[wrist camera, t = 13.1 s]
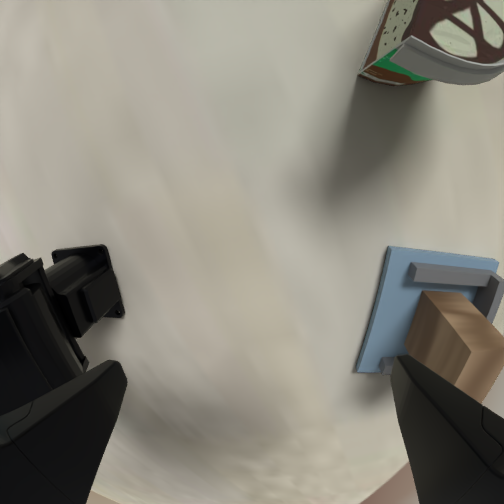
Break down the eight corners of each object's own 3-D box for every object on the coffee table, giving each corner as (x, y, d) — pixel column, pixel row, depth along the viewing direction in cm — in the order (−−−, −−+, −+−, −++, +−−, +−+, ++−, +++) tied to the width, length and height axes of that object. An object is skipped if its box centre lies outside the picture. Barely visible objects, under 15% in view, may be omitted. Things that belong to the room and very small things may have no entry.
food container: (425, 137, 17) (519, 137, 8) (349, 93, 17) (407, 46, 7) (462, 18, 13) (533, -22, 3) (397, -23, 13) (445, -89, 3)
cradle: (355, 366, 23) (362, 392, 20) (388, 245, 20) (404, 262, 17) (454, 363, 23) (467, 384, 20) (494, 259, 19) (515, 273, 16)
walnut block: (403, 344, 21) (437, 413, 14) (422, 290, 20) (471, 351, 12) (441, 343, 21) (479, 405, 14) (460, 292, 20) (513, 347, 12)
